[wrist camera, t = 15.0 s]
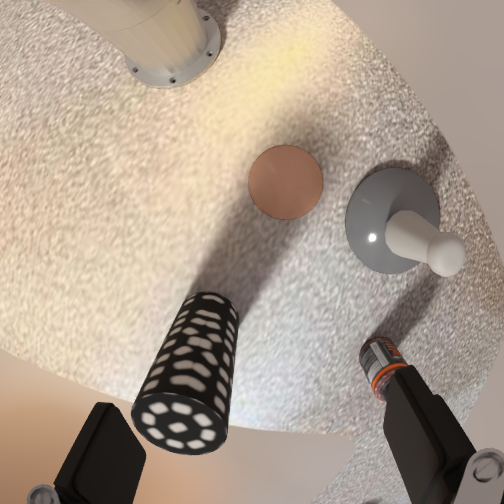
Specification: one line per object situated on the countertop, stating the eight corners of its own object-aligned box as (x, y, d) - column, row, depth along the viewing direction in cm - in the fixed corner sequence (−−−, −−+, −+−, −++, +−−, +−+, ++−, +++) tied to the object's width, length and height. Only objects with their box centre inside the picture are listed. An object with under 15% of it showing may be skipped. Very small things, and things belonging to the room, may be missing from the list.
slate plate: (341, 170, 35) (343, 170, 34) (434, 167, 35) (438, 167, 34) (346, 277, 39) (348, 280, 38) (434, 265, 39) (437, 267, 38)
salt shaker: (377, 252, 37) (425, 290, 25) (378, 207, 36) (432, 228, 23) (415, 249, 37) (470, 284, 24) (417, 207, 35) (478, 227, 23)
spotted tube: (218, 281, 40) (187, 379, 20) (250, 330, 41) (246, 442, 22) (167, 308, 41) (112, 406, 21) (200, 352, 43) (171, 461, 23)
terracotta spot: (244, 149, 35) (244, 149, 35) (318, 143, 35) (319, 142, 35) (253, 222, 38) (252, 223, 37) (325, 215, 37) (325, 215, 37)
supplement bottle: (399, 344, 42) (430, 388, 31) (375, 372, 44) (399, 419, 33) (375, 329, 41) (405, 374, 30) (349, 358, 43) (371, 408, 32)
